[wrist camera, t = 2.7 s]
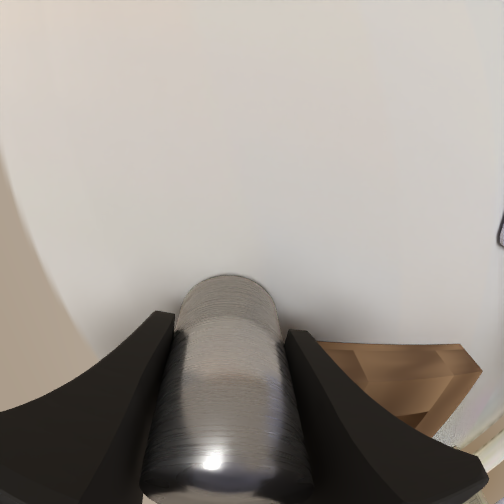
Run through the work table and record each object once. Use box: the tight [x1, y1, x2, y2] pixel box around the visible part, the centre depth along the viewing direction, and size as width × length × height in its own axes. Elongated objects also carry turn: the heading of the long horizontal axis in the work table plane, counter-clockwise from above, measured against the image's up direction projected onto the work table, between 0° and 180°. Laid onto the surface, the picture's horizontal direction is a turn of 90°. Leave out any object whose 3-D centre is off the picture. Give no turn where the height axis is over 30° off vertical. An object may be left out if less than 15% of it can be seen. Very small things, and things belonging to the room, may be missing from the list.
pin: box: [139, 276, 314, 504], centre depth 8 cm, size 4×4×7 cm
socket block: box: [317, 341, 483, 438], centre depth 13 cm, size 10×10×2 cm
